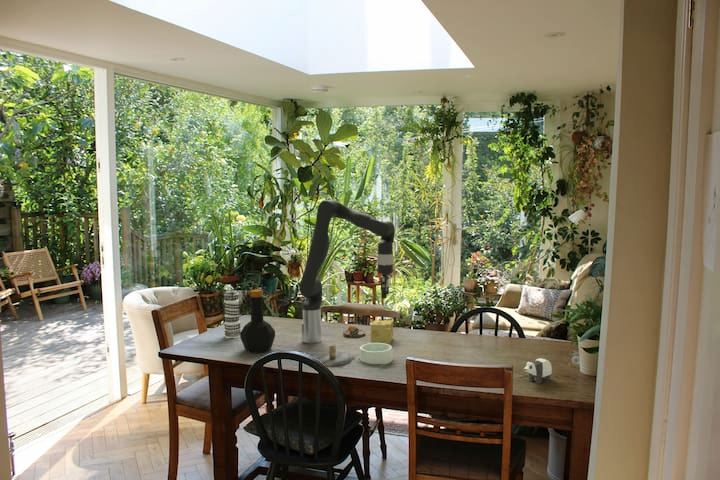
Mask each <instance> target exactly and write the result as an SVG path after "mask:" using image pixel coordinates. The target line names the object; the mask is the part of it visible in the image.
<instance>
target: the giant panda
mask: <svg viewBox="0 0 720 480" xmlns="http://www.w3.org/2000/svg"><path fill="white" fill-rule="evenodd" d="M523 371H524V372H526V373H528V377H529V378H528V382H531V383H532V382H535V385H540V384H541V383H542V380H543V379H544V380H543V381H546V382H547V381H550V380H551V376H552V371H553V369H552V363H551V362H550V361H549V360H548V359H545V358H540V357H539V358H537V359H535V360H532V361H531V360H530V359H529V360H528V362H525V364H524V368H523ZM535 379H536V380H535Z"/></svg>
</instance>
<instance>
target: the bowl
mask: <svg viewBox="0 0 720 480" xmlns="http://www.w3.org/2000/svg"><path fill="white" fill-rule="evenodd" d="M359 359H360V362H363V363H364V364H370V365H381V364H382V365H387V364H390V363H391V362H393V347H392V345H391V344H385V343H371V342H368V343H364V344H361V345H360V347H359Z"/></svg>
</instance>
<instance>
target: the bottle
mask: <svg viewBox="0 0 720 480" xmlns="http://www.w3.org/2000/svg"><path fill="white" fill-rule="evenodd" d="M249 291H250V296H249V303H250V304H251V307H250V321H249V322H247V323H246V324H245V325H244V326H243V328H242V329H241V331H240V332H241V333H240V337H239V338H240V341H241V343H242V345H243V347H244V350H245V351H246V350H247V351H246V352H248V351H249V352H256V353H255V354H261V353H260V352H262V353H267V352H269V351H270V350H271V349H272V348H273V347H272V346H273V343H274V342H275V338H276V331H275V329H274V328H273V326H272V324H270V323H269V322H267V321H266V320H264V309H263V304H262V303H264V296H262V295H263V290H262V289H251V290H249ZM268 350H269V351H268ZM266 351H267V352H266ZM249 352H248V353H249Z"/></svg>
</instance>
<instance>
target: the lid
mask: <svg viewBox="0 0 720 480" xmlns="http://www.w3.org/2000/svg"><path fill="white" fill-rule="evenodd" d="M336 347H337V346H336V344H330V345H329V346H328V352H326V353H321V354H318V355H317V356H315V357H314V358H316V359H318V360H319V361H321V362H322V363H323V364H324V365H325V366H324V367H329V368H330V367H332V366H341V365H345V364H346V365H348V364H350V363H351V362H352V360H351V357H352V356H351V355H349V354H347V353H342V352H337V350H336ZM346 365H345V366H346ZM332 368H333V367H332Z"/></svg>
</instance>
